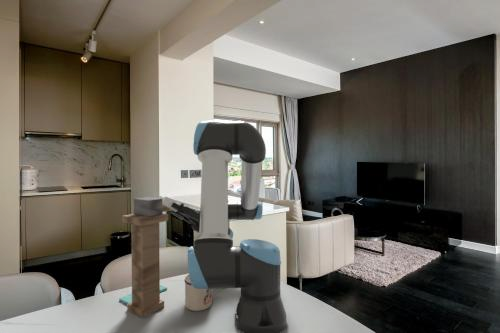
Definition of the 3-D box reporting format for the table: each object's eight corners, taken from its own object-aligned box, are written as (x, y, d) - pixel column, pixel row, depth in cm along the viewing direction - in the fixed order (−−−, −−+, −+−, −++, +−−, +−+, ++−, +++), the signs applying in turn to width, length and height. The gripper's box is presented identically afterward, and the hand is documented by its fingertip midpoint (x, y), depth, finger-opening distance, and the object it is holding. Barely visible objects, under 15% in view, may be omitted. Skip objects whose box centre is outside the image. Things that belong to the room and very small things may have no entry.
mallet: (171, 208, 108) (171, 194, 108) (186, 210, 103) (186, 195, 103) (133, 214, 96) (133, 198, 96) (148, 216, 91) (148, 200, 91)
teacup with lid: (209, 312, 93) (209, 275, 93) (180, 311, 94) (180, 274, 93) (216, 295, 105) (216, 262, 105) (191, 294, 106) (191, 261, 105)
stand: (168, 306, 96) (168, 214, 96) (141, 320, 88) (140, 219, 88) (149, 298, 102) (149, 211, 102) (122, 310, 94) (121, 215, 94)
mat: (166, 289, 109) (166, 287, 109) (129, 305, 97) (129, 303, 97) (156, 285, 113) (156, 283, 113) (119, 300, 101) (119, 298, 100)
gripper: (216, 236, 110) (172, 212, 94) (187, 231, 119) (142, 208, 103) (222, 217, 113) (181, 191, 97) (194, 213, 122) (151, 188, 106)
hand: (161, 200), depth 100 cm, fingers closed on mallet, 2 cm apart
